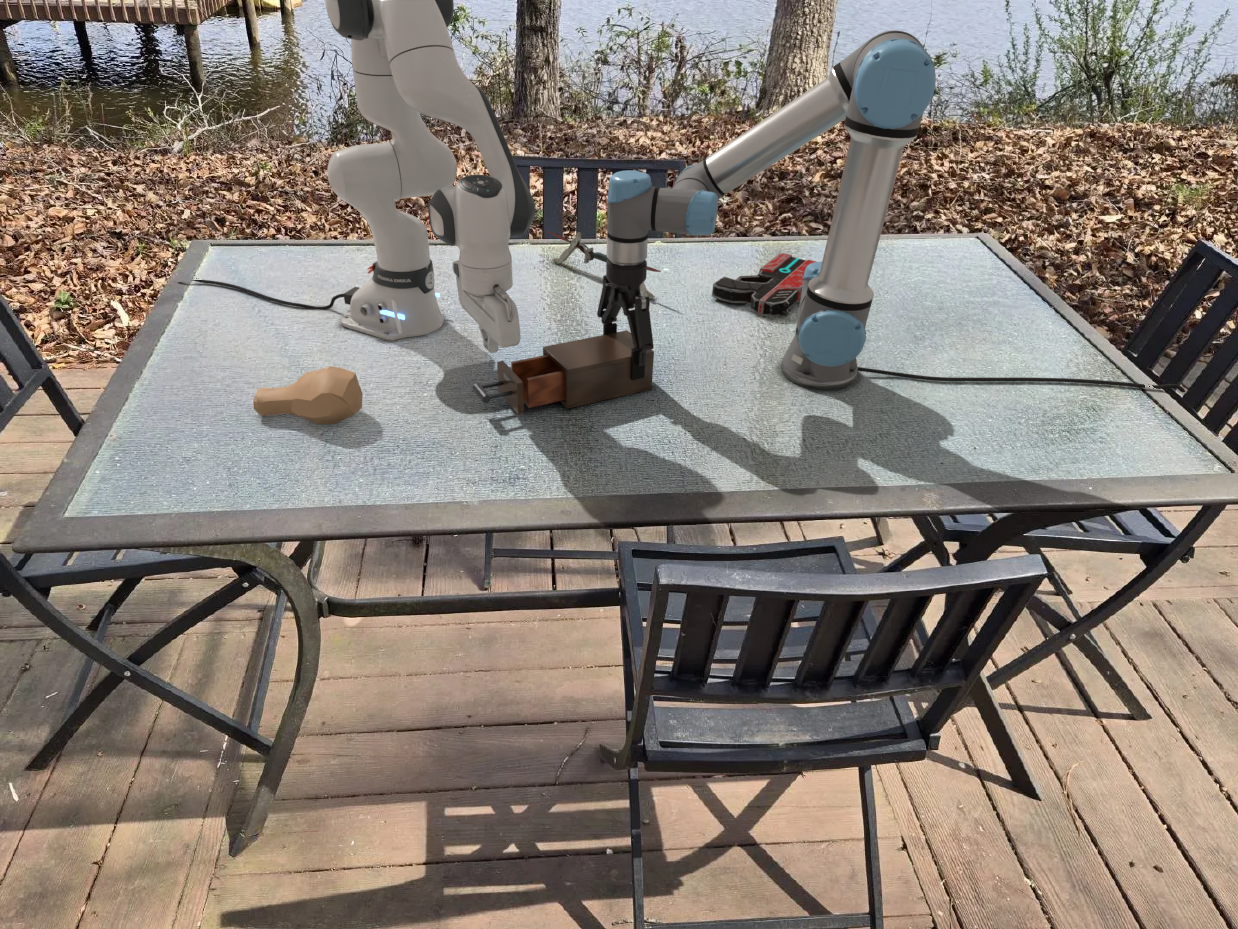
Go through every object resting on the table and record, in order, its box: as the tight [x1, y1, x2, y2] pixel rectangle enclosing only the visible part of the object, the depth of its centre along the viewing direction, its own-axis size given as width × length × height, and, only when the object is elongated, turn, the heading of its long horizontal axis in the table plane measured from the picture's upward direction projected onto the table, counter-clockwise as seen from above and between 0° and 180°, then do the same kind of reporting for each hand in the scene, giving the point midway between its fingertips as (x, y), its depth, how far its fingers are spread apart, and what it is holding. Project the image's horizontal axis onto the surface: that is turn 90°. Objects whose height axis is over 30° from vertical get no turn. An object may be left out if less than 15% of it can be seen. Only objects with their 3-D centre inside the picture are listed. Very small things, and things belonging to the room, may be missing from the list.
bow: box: [546, 230, 662, 300], centre depth 217 cm, size 39×2×10 cm, turn 47°
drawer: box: [471, 354, 565, 415], centre depth 165 cm, size 24×10×6 cm, turn 119°
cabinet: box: [542, 329, 655, 410], centre depth 171 cm, size 19×11×8 cm, turn 119°
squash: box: [252, 365, 363, 426], centre depth 159 cm, size 11×20×9 cm, turn 90°
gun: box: [711, 252, 817, 318], centre depth 215 cm, size 4×31×19 cm
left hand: (491, 349), depth 157 cm, fingers closed
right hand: (623, 366), depth 174 cm, fingers closed on cabinet, 11 cm apart
